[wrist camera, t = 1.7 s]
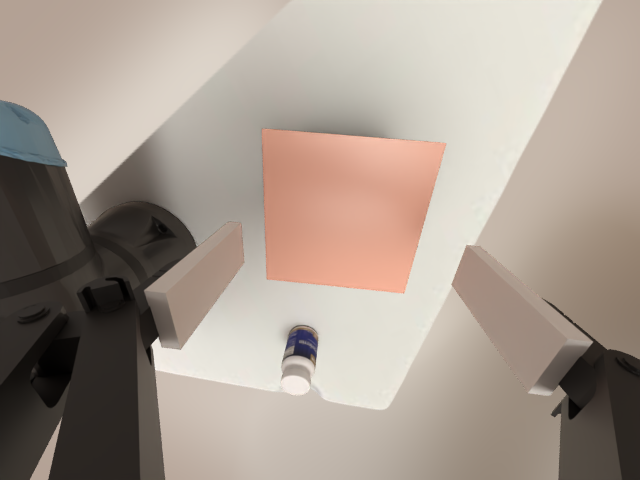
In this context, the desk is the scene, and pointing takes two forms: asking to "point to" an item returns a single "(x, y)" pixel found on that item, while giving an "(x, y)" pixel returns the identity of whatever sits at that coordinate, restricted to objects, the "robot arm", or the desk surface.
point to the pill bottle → (299, 360)
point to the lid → (345, 207)
